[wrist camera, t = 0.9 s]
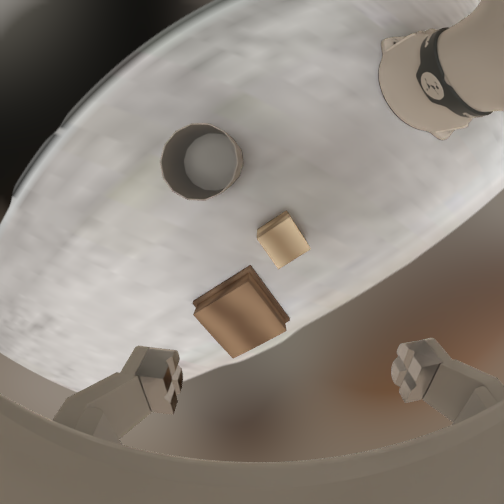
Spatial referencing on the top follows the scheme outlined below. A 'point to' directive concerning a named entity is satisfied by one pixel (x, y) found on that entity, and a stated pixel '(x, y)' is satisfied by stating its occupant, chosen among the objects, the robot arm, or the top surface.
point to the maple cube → (282, 240)
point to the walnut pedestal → (241, 313)
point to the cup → (200, 161)
